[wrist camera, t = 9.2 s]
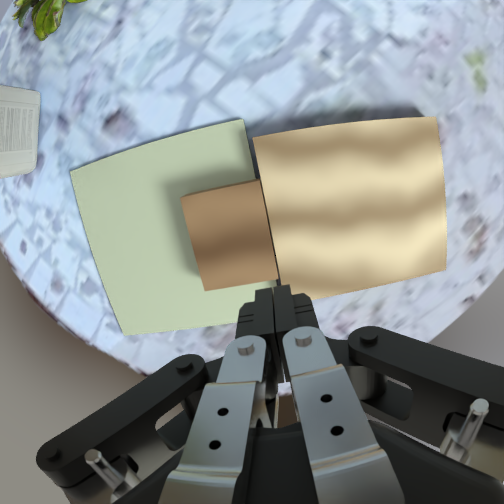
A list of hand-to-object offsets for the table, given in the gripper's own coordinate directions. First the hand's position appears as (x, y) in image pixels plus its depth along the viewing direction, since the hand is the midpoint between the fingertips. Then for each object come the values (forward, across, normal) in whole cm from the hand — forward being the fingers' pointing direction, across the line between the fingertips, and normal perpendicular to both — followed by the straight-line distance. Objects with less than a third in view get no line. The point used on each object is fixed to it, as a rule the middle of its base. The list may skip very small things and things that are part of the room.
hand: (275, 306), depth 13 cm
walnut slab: (+17, +4, 0) cm, 17 cm away
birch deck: (+17, -9, 0) cm, 19 cm away
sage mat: (+17, +10, 0) cm, 20 cm away
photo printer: (+17, +25, -17) cm, 35 cm away
